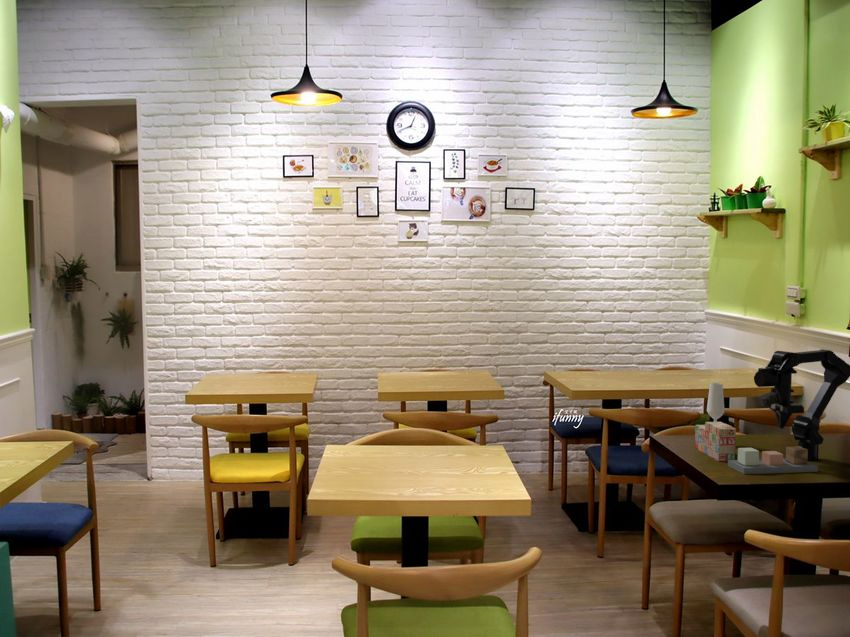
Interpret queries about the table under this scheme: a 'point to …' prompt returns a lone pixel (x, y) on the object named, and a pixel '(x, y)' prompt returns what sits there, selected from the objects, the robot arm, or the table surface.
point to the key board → (772, 467)
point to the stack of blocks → (716, 440)
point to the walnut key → (796, 455)
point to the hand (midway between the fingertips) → (781, 428)
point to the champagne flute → (715, 401)
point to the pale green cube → (748, 456)
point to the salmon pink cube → (772, 458)
